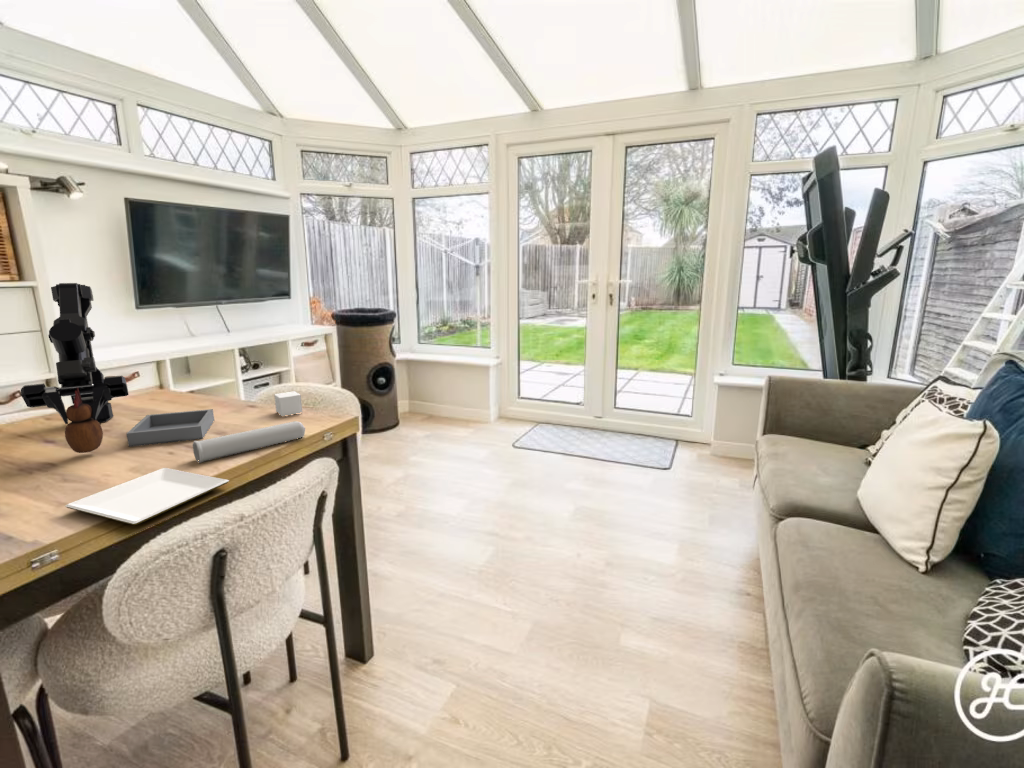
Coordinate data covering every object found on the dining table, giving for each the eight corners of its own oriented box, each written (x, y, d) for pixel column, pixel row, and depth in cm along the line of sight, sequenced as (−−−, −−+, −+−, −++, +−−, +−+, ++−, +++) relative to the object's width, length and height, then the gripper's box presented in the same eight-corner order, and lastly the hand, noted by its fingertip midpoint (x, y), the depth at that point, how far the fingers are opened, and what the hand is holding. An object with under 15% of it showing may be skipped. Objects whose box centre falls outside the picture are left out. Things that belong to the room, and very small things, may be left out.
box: (128, 446, 124) (126, 433, 124) (149, 426, 140) (147, 414, 139) (202, 439, 130) (200, 426, 129) (214, 420, 145) (212, 409, 145)
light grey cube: (281, 417, 149) (279, 398, 148) (276, 413, 153) (274, 394, 152) (302, 413, 153) (300, 394, 151) (296, 409, 157) (294, 391, 156)
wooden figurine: (85, 445, 122) (72, 385, 118) (110, 444, 122) (98, 385, 119) (63, 456, 115) (49, 393, 112) (90, 455, 116) (76, 392, 112)
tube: (298, 419, 134) (191, 441, 116) (305, 417, 130) (196, 440, 113) (302, 439, 134) (196, 464, 116) (310, 437, 130) (201, 463, 113)
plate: (136, 533, 85) (134, 522, 84) (66, 515, 91) (63, 504, 90) (231, 488, 102) (229, 479, 101) (166, 475, 108) (164, 466, 107)
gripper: (12, 350, 111) (14, 410, 105) (118, 343, 121) (126, 396, 115) (26, 378, 119) (29, 435, 113) (125, 369, 129) (132, 420, 123)
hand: (80, 421), depth 116 cm, fingers closed on wooden figurine, 5 cm apart
